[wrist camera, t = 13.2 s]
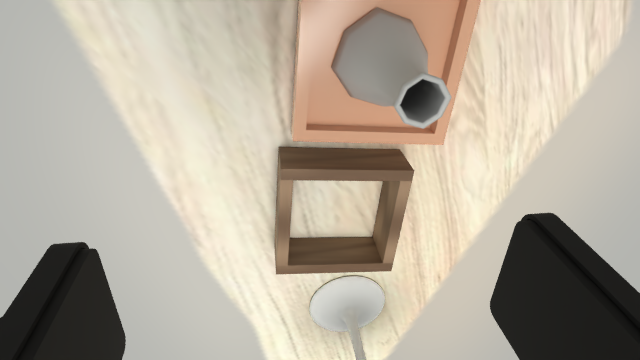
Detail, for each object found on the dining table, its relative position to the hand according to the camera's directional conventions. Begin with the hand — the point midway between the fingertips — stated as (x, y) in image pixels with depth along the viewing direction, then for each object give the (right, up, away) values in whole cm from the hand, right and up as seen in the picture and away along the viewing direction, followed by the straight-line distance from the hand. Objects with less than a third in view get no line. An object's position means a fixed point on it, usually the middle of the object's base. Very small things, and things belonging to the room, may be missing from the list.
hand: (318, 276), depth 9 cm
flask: (+5, +12, +23) cm, 26 cm away
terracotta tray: (+5, +12, +23) cm, 27 cm away
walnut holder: (+1, 0, +30) cm, 30 cm away
